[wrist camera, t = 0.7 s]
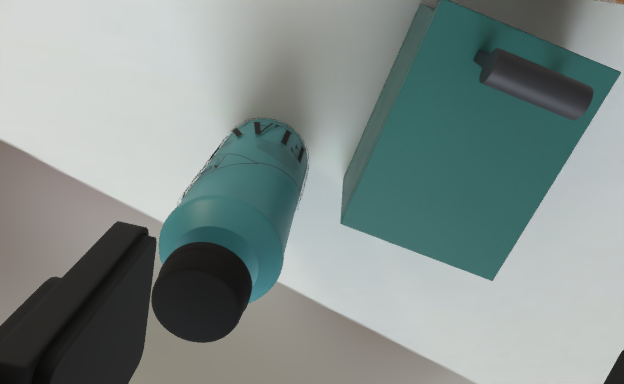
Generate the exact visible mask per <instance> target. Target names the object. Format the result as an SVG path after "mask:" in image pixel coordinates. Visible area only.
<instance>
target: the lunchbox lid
mask: <svg viewBox="0 0 624 384" xmlns="http://www.w3.org/2000/svg"><path fill="white" fill-rule="evenodd" d="M620 73H621V72H619V71H617V70H615V69H612V68H610V67H607V66H605V65H603V64H600V63H598V62H595V61H593V60H591V59H588V58H586V57H583V56H581V55H579V54H576V53H574V52H571V51H569V50H567V49H564V48H562V47H559V46H557V45H555V44H552V43H550V42H547V41H545V40H543V39H540V38H538V37H535V36H533V35H531V34H528V33H526V32H523V31H521V30H519V29H516V28H514V27H511V26H509V25H507V24H504V23H502V22H499V21H497V20H495V19H492V18H490V17H487V16H485V15H483V14H480V13H478V12H475V11H473V10H471V9H468V8H466V7H463V6H461V5H459V4H456V3H454V2H451V1H449V0H439V2H438V4H437V6H436V8H435V11H434V13H433V15H432V17H431V19H430V22H429V24H428V26H427V28H426V30H425V33H424V35H423V37H422V39H421V42H420V44H419V46H418V48H417V50H416V53H415V55H414V57H413V59H412V62H411V64H410V66H409V68H408V70H407V73H406V75H405V77H404V79H403V81H402V84H401V86H400V88H399V90H398V93H397V95H396V97H395V99H394V101H393V104H392V106H391V108H390V110H389V112H388V115H387V117H386V119H385V121H384V124H383V126H382V128H381V130H380V132H379V135H378V137H377V139H376V141H375V144H374V146H373V148H372V150H371V152H370V155H369V157H368V159H367V161H366V163H365V166H364V168H363V170H362V172H361V175H360V177H359V179H358V181H357V183H356V186H355V188H354V190H353V192H352V195H351V197H350V199H349V201H348V203H347V206H346V208H345V210H344V212H343V214H342V217H341V224H343V225H345V226H348V227H351V228H353V229H356V230H359V231H361V232H364V233H367V234H369V235H372V236H375V237H377V238H380V239H383V240H385V241H388V242H390V243H393V244H396V245H398V246H401V247H404V248H406V249H409V250H412V251H414V252H417V253H420V254H422V255H425V256H428V257H430V258H433V259H436V260H438V261H441V262H444V263H446V264H449V265H451V266H454V267H457V268H459V269H462V270H465V271H467V272H470V273H473V274H475V275H478V276H481V277H483V278H486V279H489V280H491V281H493V279H494V277H495V276H496V274H497V273H498V271H499V269H500V268H501V266H502V265H503V263H504V261H505V260H506V258H507V256H508V255H509V253H510V252H511V250H512V248H513V247H514V245H515V243H516V242H517V240H518V239H519V237H520V235H521V234H522V232H523V231H524V229H525V227H526V226H527V224H528V222H529V221H530V219H531V218H532V216H533V214H534V213H535V211H536V209H537V208H538V206H539V205H540V203H541V201H542V200H543V198H544V197H545V195H546V193H547V192H548V190H549V188H550V187H551V185H552V184H553V182H554V180H555V179H556V177H557V175H558V174H559V172H560V171H561V169H562V167H563V166H564V164H565V163H566V161H567V159H568V158H569V156H570V154H571V153H572V151H573V150H574V148H575V146H576V145H577V143H578V141H579V140H580V138H581V137H582V135H583V133H584V132H585V130H586V129H587V127H588V125H589V124H590V122H591V120H592V119H593V117H594V116H595V114H596V112H597V111H598V109H599V107H600V106H601V104H602V103H603V101H604V99H605V98H606V96H607V94H608V93H609V91H610V90H611V88H612V86H613V85H614V83H615V82H616V80H617V78H618V77H619V75H620Z"/></svg>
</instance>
